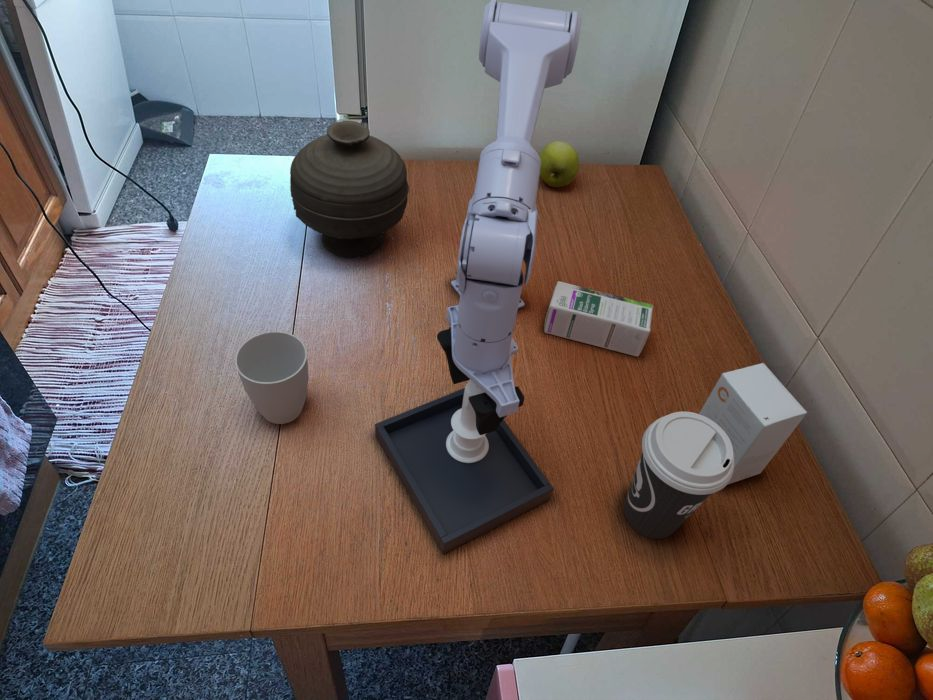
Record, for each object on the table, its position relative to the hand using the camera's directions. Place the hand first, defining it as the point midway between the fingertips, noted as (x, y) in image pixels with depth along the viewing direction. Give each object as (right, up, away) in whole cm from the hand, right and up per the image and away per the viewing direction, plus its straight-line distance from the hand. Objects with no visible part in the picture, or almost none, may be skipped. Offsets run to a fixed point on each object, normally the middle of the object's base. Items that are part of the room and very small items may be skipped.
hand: (473, 404), depth 74 cm
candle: (-1, -6, +6) cm, 8 cm away
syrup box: (+26, +9, +19) cm, 33 cm away
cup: (-24, -1, +8) cm, 26 cm away
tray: (-2, -8, +5) cm, 9 cm away
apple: (+16, +38, +49) cm, 63 cm away
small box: (+32, -7, +9) cm, 34 cm away
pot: (-19, +25, +32) cm, 45 cm away
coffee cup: (+21, -13, +3) cm, 25 cm away
